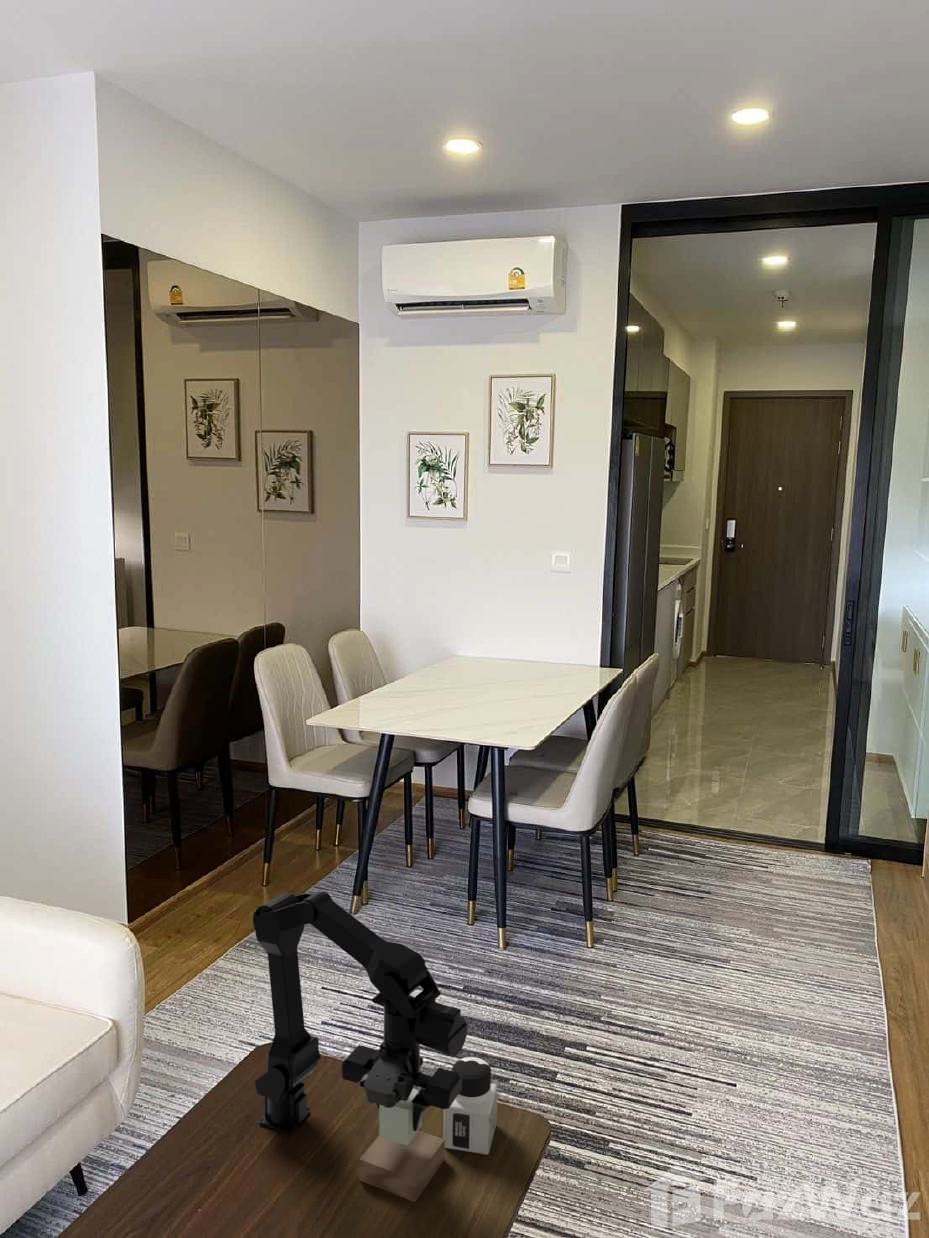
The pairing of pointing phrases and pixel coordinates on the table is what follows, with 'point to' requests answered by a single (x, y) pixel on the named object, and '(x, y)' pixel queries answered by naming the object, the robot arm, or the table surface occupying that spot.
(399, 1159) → the walnut box
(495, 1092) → the container
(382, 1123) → the sage block
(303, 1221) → the table surface
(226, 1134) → the table surface
